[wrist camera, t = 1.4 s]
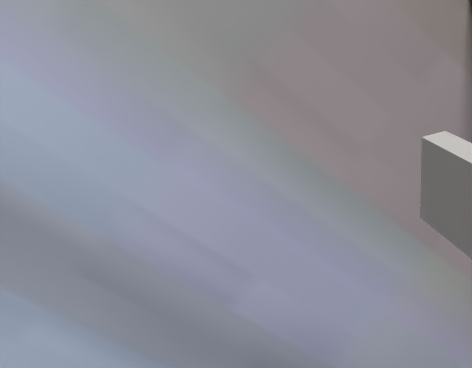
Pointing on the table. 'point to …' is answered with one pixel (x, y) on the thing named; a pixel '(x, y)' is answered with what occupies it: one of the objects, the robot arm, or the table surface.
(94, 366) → the table surface
